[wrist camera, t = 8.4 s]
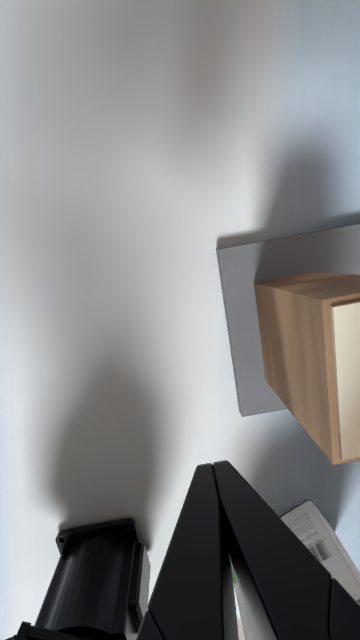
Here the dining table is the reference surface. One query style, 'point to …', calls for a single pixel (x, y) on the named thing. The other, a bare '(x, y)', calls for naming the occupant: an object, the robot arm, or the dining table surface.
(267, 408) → the rubber mat
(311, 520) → the ink box
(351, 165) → the dining table surface
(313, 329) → the cream panel wooden box
